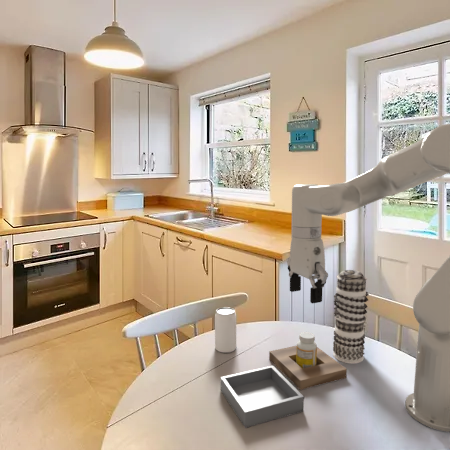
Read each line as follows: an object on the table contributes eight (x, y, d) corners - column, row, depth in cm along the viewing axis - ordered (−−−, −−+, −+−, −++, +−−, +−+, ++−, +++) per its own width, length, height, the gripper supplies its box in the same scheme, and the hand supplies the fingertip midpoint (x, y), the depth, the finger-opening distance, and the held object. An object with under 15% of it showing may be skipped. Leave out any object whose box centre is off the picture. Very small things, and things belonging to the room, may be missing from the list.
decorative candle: (370, 364, 104) (374, 277, 100) (336, 364, 104) (339, 277, 100) (359, 348, 113) (363, 267, 109) (328, 348, 113) (331, 267, 110)
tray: (303, 411, 85) (303, 396, 84) (245, 427, 79) (245, 412, 79) (272, 378, 98) (272, 365, 97) (220, 390, 93) (220, 377, 92)
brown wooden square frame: (346, 377, 98) (346, 368, 97) (300, 390, 93) (300, 380, 92) (310, 350, 112) (311, 342, 112) (269, 359, 107) (269, 351, 107)
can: (223, 341, 119) (222, 305, 117) (240, 347, 115) (240, 309, 113) (210, 349, 113) (210, 311, 112) (228, 355, 110) (228, 316, 108)
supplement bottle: (307, 375, 99) (308, 341, 97) (291, 367, 103) (292, 334, 101) (320, 369, 102) (321, 335, 100) (305, 361, 106) (305, 329, 105)
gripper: (340, 236, 90) (338, 305, 93) (300, 226, 106) (299, 285, 109) (313, 239, 87) (312, 309, 90) (276, 228, 103) (276, 288, 106)
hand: (305, 296), depth 99 cm, fingers open, 9 cm apart
